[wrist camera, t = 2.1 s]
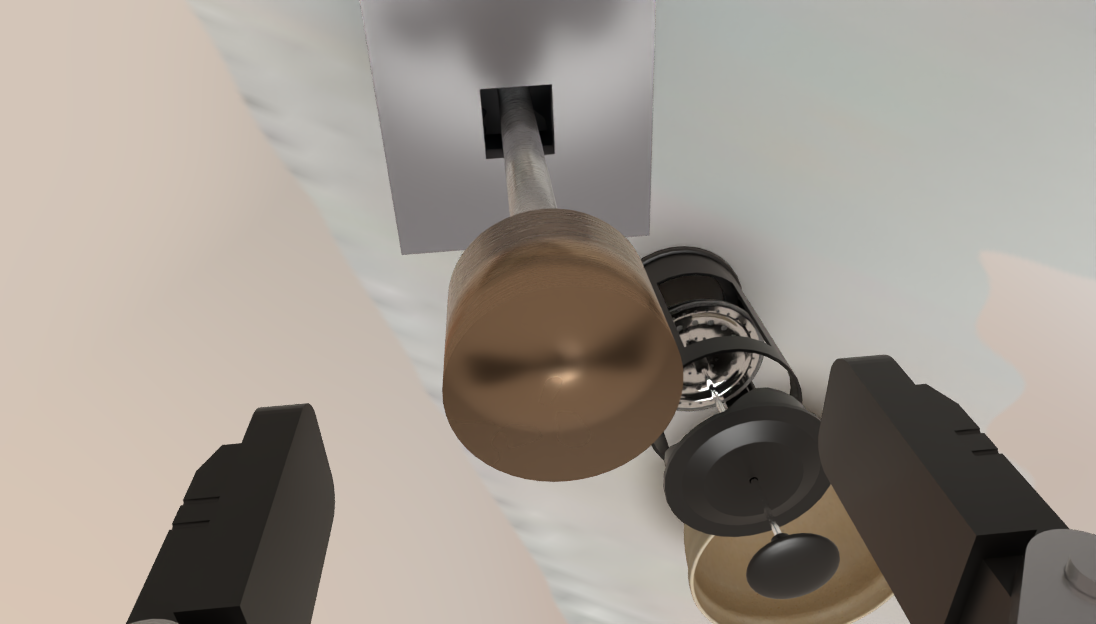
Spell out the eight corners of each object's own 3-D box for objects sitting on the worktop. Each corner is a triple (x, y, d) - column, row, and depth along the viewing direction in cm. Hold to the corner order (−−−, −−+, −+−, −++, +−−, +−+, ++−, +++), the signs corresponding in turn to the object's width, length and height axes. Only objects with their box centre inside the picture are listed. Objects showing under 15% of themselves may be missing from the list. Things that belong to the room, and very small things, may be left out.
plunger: (573, -17, 32) (760, 210, 11) (576, 122, 35) (727, 504, 14) (431, -8, 31) (348, 243, 11) (448, 131, 34) (408, 535, 14)
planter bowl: (686, 372, 55) (729, 475, 46) (884, 390, 58) (963, 491, 48) (637, 525, 63) (665, 639, 54) (813, 535, 66) (869, 645, 56)
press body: (581, -77, 39) (656, -35, 23) (584, 97, 44) (649, 235, 28) (406, -67, 39) (356, -17, 22) (428, 109, 43) (401, 254, 27)
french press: (574, 301, 51) (637, 573, 31) (682, 212, 48) (824, 451, 29) (676, 395, 56) (784, 681, 37) (779, 320, 53) (956, 585, 34)
